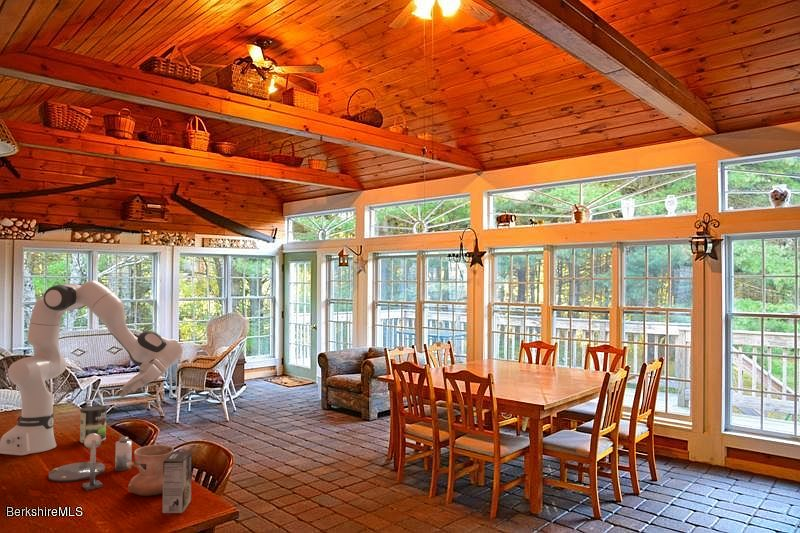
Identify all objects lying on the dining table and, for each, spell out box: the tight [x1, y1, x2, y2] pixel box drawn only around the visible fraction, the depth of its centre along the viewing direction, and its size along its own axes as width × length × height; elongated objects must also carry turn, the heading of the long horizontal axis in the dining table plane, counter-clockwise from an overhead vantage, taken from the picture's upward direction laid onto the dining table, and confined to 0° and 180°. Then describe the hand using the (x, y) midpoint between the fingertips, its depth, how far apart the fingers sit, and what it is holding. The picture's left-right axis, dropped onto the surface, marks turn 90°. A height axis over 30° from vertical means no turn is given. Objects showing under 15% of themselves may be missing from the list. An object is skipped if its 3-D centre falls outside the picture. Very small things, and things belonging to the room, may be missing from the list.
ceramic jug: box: [127, 444, 175, 497], centre depth 190 cm, size 18×14×14 cm
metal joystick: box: [81, 433, 103, 491], centre depth 193 cm, size 5×5×18 cm
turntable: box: [48, 461, 106, 483], centre depth 206 cm, size 18×18×1 cm
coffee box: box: [161, 451, 192, 514], centre depth 177 cm, size 9×6×16 cm
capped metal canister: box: [114, 436, 133, 472], centre depth 212 cm, size 6×6×12 cm
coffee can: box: [79, 405, 108, 444], centre depth 248 cm, size 10×10×14 cm
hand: (126, 393), depth 218 cm, fingers open, 8 cm apart
